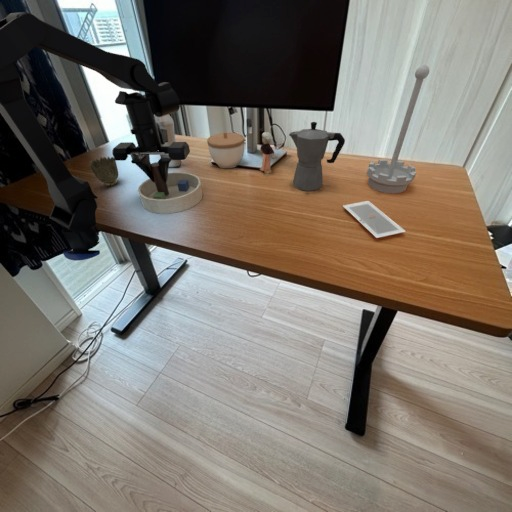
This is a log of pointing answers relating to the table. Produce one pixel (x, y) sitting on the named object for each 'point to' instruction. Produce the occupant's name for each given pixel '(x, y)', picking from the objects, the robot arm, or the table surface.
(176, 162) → the plastic bottle
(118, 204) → the table surface
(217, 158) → the lidded bowl
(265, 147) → the grandmother figurine
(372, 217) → the touchpad
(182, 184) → the blue block
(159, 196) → the green block
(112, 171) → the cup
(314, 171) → the coffeepot
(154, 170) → the brown cylinder
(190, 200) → the bowl
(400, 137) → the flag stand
